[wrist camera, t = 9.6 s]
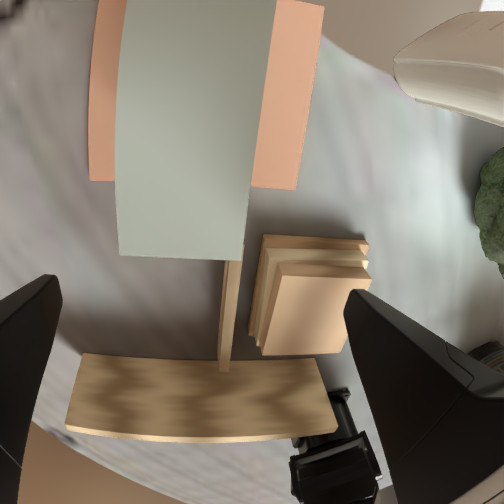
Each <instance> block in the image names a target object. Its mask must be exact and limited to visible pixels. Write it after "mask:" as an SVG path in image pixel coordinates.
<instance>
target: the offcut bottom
mask: <svg viewBox="0 0 504 504" xmlns="http://www.w3.org/2000/svg"><path fill="white" fill-rule="evenodd" d="M266 248H294V249H342V250H361V251H362V252H363V254H364V255H365V256H366V254H367V251H368V248H369V244H368V243H367V241H366V240H355V239H339V238H323V237H306V236H288V235H270V234H263V238H262V244H261V250H260V257H259V263H258V269H257V276H256V282H255V288H254V294H253V301H252V307H251V313H250V319H249V325H248V334H249V336H254V329H255V322H256V315H257V308H258V300H259V293H260V286H261V279H262V272H263V265H264V257H265V250H266Z"/></svg>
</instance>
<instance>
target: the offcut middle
mask: <svg viewBox="0 0 504 504" xmlns="http://www.w3.org/2000/svg"><path fill="white" fill-rule="evenodd" d="M368 261H369V260H368V259H367V258H366V256H365V255H364V254H363V252H362V251H361V250H342V249H294V248H266V250H265V257H264V265H263V272H262V279H261V286H260V293H259V300H258V308H257V315H256V322H255V329H254V336H255V341H256V346H260V343H259V339H260V335H261V331H262V327H263V323H264V319H265V314H266V310H267V306H268V302H269V297H270V293H271V289H272V284H273V280H274V276H275V271H276V267H277V262H280V263H297V264H314V265H331V266H349V267H364V269H365V270H366V268H367V265H368Z"/></svg>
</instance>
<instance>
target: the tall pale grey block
mask: <svg viewBox="0 0 504 504" xmlns="http://www.w3.org/2000/svg"><path fill="white" fill-rule="evenodd" d="M276 4H277V0H127V5H126V11H125V17H124V24H123V32H122V40H121V48H120V58H119V68H118V80H117V95H116V116H115V194H116V216H117V231H118V244H119V256H141V257H163V258H186V259H210V260H234V261H241V257H242V249H243V241H244V234H245V226H246V218H247V211H248V203H249V196H250V188H251V181H252V173H253V166H254V158H255V151H256V144H257V136H258V129H259V122H260V115H261V108H262V101H263V93H264V86H265V79H266V72H267V65H268V58H269V51H270V45H271V38H272V31H273V24H274V17H275V10H276Z"/></svg>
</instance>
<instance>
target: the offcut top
mask: <svg viewBox="0 0 504 504" xmlns="http://www.w3.org/2000/svg"><path fill="white" fill-rule="evenodd" d="M371 281H372V278H371V277H370V276H369V274H368V273H367V272H366V270H365V269H364V267H349V266H331V265H314V264H297V263H280V262H277V267H276V271H275V276H274V280H273V284H272V289H271V293H270V297H269V302H268V306H267V310H266V314H265V319H264V323H263V327H262V331H261V335H260V339H259V343H260V348H261V353H262V355H306V354H329V353H340V352H341V350H342V348H343V345H344V343H345V341H346V339H347V337H348V334H347V330H346V326H345V321H344V317H343V310H344V307H345V304H346V301H347V298H348V296H349V293H350V291H351V290H352V289H365V290H366V291H368V288H369V286H370V283H371Z"/></svg>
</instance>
